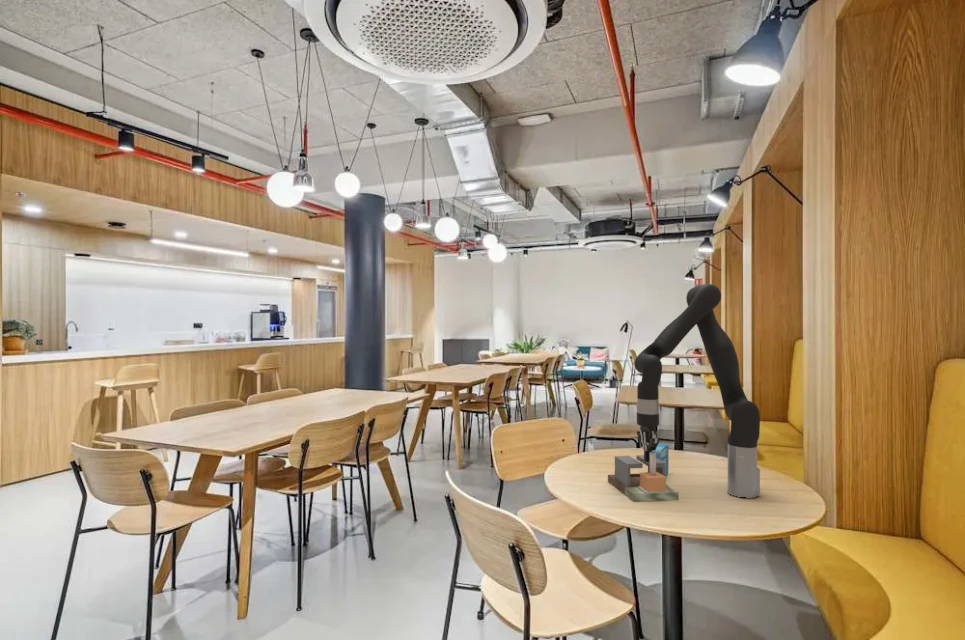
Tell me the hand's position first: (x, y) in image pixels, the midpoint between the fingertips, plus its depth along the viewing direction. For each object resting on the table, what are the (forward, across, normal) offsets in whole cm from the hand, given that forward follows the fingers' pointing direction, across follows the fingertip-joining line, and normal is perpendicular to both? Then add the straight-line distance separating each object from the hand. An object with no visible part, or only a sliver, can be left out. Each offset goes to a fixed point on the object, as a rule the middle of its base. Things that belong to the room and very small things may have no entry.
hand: (647, 461), depth 175 cm
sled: (+9, -4, 0) cm, 10 cm away
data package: (+12, +19, -14) cm, 26 cm away
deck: (+12, +5, 0) cm, 12 cm away
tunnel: (+9, +6, 0) cm, 11 cm away
